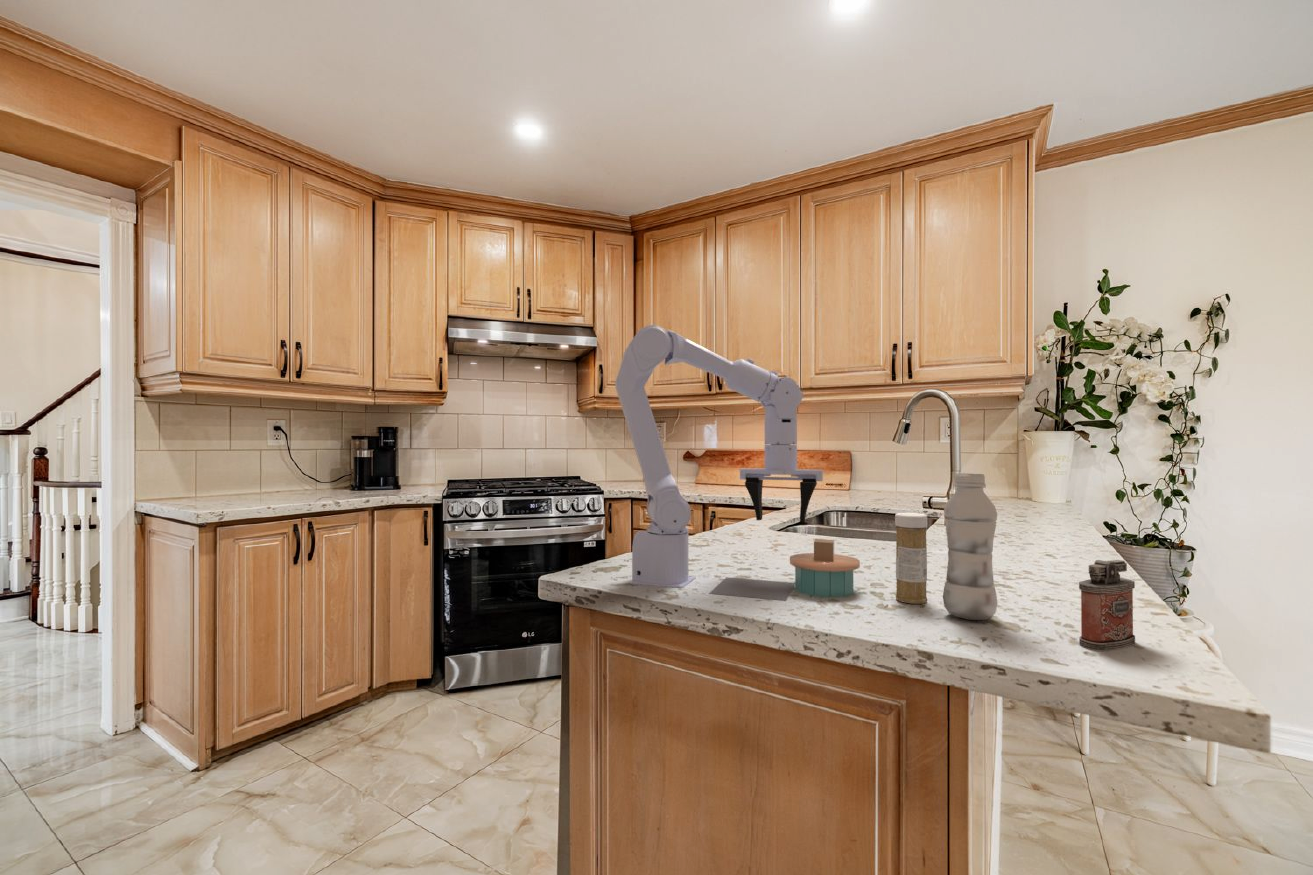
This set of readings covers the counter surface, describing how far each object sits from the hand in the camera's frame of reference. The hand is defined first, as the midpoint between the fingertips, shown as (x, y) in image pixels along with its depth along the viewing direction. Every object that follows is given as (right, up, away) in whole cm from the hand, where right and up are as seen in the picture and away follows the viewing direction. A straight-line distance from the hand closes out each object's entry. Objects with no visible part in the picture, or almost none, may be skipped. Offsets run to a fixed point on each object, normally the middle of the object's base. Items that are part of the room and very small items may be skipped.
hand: (780, 520), depth 104 cm
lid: (+5, -6, -9) cm, 12 cm away
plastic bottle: (+21, -10, -24) cm, 33 cm away
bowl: (+5, -10, -9) cm, 15 cm away
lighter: (+32, -10, -34) cm, 48 cm away
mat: (-6, -10, -8) cm, 15 cm away
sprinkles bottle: (+17, -11, -15) cm, 25 cm away
